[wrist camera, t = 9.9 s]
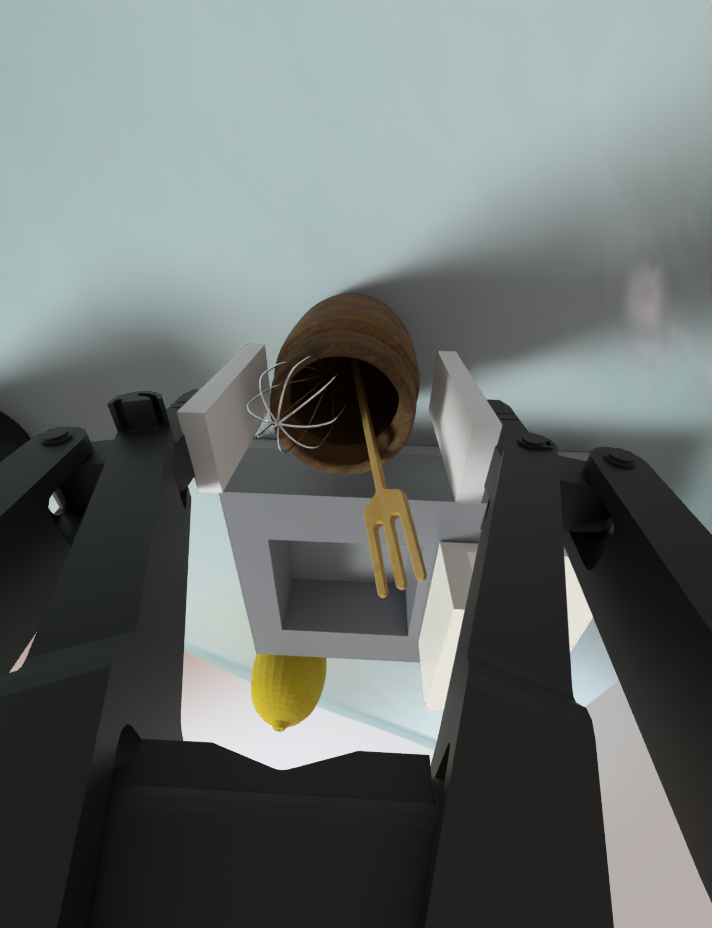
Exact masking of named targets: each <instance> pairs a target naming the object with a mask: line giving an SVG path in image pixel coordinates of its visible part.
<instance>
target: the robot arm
mask: <svg viewBox="0 0 712 928" xmlns="http://www.w3.org/2000/svg"><path fill="white" fill-rule="evenodd" d="M266 370H268V369H267V360H266V351H265V345H263V344H246V345H245V346H244V347H243V348H242V349H241V350H240V351H239V352H238V353H237V354H236V355H235V356H234V357H233V358H232V359H231V360H230V361H229V362H228V363H227V364H226V365H225V366H224V367H222V368H221V369H220V370H219V371H218V372H217V373H216V374H215V375H214V376H213V377H212V378H211V379H210V380H209V381H208V382H207V383H206V384H205V385H204V386H203V387H202V388H201V389H200V390H195V389H194V390H192V391H190V392H188V393H186V394H183V395H182V396H181V397H180V398H179V399H177V400H176V401H175V403H173V404H172V405H171V406H170V408H168V409H167V410H166V409H165V405H164V402H163V398H162V395H161V394H159V393H156V392H150V391H144V392H133V393H128V394H124V395H121V396H118V397H116V398H114V399H112V400H111V401H110V402H109V403H108V407H109V409H110V412H111V415H112V417H113V420H114V423H115V425H116V428H117V430H118V433H117V435H116V437H115V439H114V440H105V441H97V442H90V440H89V437H88V435H87V433H86V431H85V430H84V429H82V428H79V427H65V428H63V427H58V428H55V429H54V428H53V429H49V430H47V431H46V432H44V433H41V434H38V435H37V436H35V437H33V438H32V439H30V440H29V441H27V442H26V443H25V444H24V445H22V446H21V447H20V448H18V449H17V450H16V451H14V452H13V453H12V454H11V455H9V456H8V457H7V458H5V459H4V460H3V461H1V462H0V928H614V926H613V914H612V905H611V894H610V884H609V874H608V864H607V853H606V843H605V833H604V823H603V814H602V802H601V792H600V782H599V772H598V762H597V752H596V741H595V735H594V730H593V724H592V719H591V717H590V715H589V713H588V711H587V709H586V708H585V707H583V706H581V705H579V704H578V703H576V701H575V699H574V697H573V691H572V679H571V662H570V645H569V628H568V611H567V594H566V577H565V560H564V548H565V550H566V552H567V555H568V557H569V560H570V562H571V565H572V567H573V569H574V572H575V574H576V577H577V579H578V582H579V584H580V586H581V589H582V591H583V594H584V596H585V599H586V601H587V603H588V606H589V608H590V611H591V613H592V616H593V618H594V620H595V623H596V625H597V628H598V630H599V633H600V635H601V637H602V640H603V642H604V645H605V647H606V650H607V652H608V654H609V657H610V659H611V662H612V664H613V667H614V669H615V671H616V674H617V676H618V679H619V681H620V683H621V686H622V688H623V691H624V693H625V696H626V698H627V700H628V703H629V705H630V708H631V710H632V713H633V715H634V717H635V720H636V722H637V725H638V727H639V730H640V732H641V734H642V737H643V739H644V742H645V744H646V746H647V749H648V751H649V754H650V756H651V759H652V761H653V763H654V766H655V768H656V771H657V773H658V776H659V778H660V781H661V783H662V785H663V788H664V790H665V793H666V795H667V798H668V800H669V802H670V805H671V807H672V810H673V812H674V815H675V817H676V819H677V822H678V824H679V827H680V829H681V832H682V834H683V836H684V839H685V841H686V844H687V846H688V849H689V851H690V853H691V856H692V858H693V861H694V863H695V866H696V868H697V870H698V873H699V875H700V878H701V880H702V882H703V884H704V886H705V889H706V891H707V893H708V895H709V897H710V900H711V902H712V535H711V534H710V532H709V531H708V530H707V529H706V528H705V527H704V526H703V525H702V524H701V522H700V521H699V520H698V519H697V518H696V517H695V516H694V515H693V514H692V512H691V511H690V510H689V509H688V508H687V507H686V506H685V505H684V504H683V502H682V501H681V500H680V499H679V498H678V497H677V496H676V495H675V494H674V492H673V491H672V490H671V489H670V488H669V487H668V486H667V485H666V484H665V482H664V481H663V480H662V479H661V478H660V477H659V476H658V475H657V474H656V472H655V471H654V470H653V469H652V468H651V467H650V466H649V465H648V464H647V463H646V462H645V461H644V460H643V459H641V458H640V457H638V456H636V455H634V454H632V453H631V452H629V451H626V450H625V451H624V450H623V449H620V448H616V449H615V448H610V447H599V448H596V449H593V450H592V451H591V453H590V455H589V457H588V459H587V461H584V460H579V459H574V458H569V457H565V456H561V455H558V448H557V446H556V444H555V443H553V442H552V441H551V440H550V439H547V438H545V437H543V436H541V435H537V434H534V433H529V432H528V431H527V429H526V428H525V427H524V425H523V424H522V423H521V421H519V419H518V417H517V416H516V415H515V413H514V412H513V410H512V409H511V408H510V406H508V405H506V404H505V403H503V402H502V401H500V400H486V398H485V397H484V395H483V393H482V392H481V390H480V389H479V387H478V385H477V384H476V382H475V381H474V379H473V378H472V376H471V374H470V373H469V371H468V370H467V368H466V367H465V365H464V363H463V362H462V360H461V359H460V357H459V355H458V354H457V352H456V351H438V352H437V358H436V365H435V372H434V379H433V385H432V392H431V399H430V406H429V413H430V417H431V420H432V424H433V427H434V430H435V434H436V437H437V441H438V444H439V447H440V451H441V454H442V458H443V461H444V465H445V468H446V471H447V475H448V478H449V482H450V485H451V489H452V492H453V495H454V499H455V502H456V503H463V504H481V501H482V497H483V494H484V490H486V493H487V495H488V497H489V500H488V503H487V507H486V510H485V514H484V517H483V521H482V524H481V527H480V529H481V534H480V539H479V544H478V549H477V553H476V558H475V563H474V568H473V573H472V577H471V582H470V587H469V592H468V597H467V601H466V606H465V611H464V616H463V620H462V625H461V630H460V635H459V640H458V644H457V649H456V654H455V659H454V664H453V668H452V673H451V678H450V683H449V688H448V692H447V697H446V702H445V707H444V712H443V716H442V721H441V726H440V731H439V735H438V739H437V744H436V747H435V751H434V755H433V759H432V763H431V767H430V758H429V755H418V754H401V753H382V752H364V751H357V752H353V753H349V754H345V755H342V756H338V757H334V758H330V759H326V760H323V761H319V762H315V763H311V764H308V765H304V766H300V767H296V768H292V769H289V770H277V769H274V768H271V767H269V766H266V765H264V764H262V763H259V762H257V761H255V760H252V759H250V758H247V757H245V756H243V755H240V754H238V753H236V752H233V751H231V750H228V749H226V748H224V747H221V746H219V745H217V744H214V743H209V742H190V741H183V737H182V731H181V697H182V676H183V654H184V635H185V615H186V594H187V574H188V553H189V533H190V512H191V495H190V492H189V488H188V485H189V483H190V482H191V481H192V479H193V478H195V481H196V485H197V489H198V492H213V493H223V491H224V489H225V487H226V486H227V484H228V482H229V480H230V478H231V477H232V475H233V473H234V471H235V469H236V468H237V466H238V464H239V462H240V460H241V459H242V457H243V455H244V453H245V451H246V450H247V448H248V446H249V444H250V442H251V441H252V439H253V437H254V435H255V433H256V432H257V430H258V428H259V426H260V424H261V423H262V420H259V419H257V418H255V417H254V416H252V415H251V414H250V413H249V412H248V411H247V404H248V402H250V401H251V400H252V399H253V398H255V397H256V396H257V395H259V394H260V390H259V379H260V376H261V375H262V374H263V373H264V372H265V371H266ZM269 388H270V387H269V378H268V372H267V373H266V374H264V375H263V377H262V379H261V390H262V392H263V391H265V390H267V389H269ZM262 395H263V398H264V400H265V402H266V405H267V407H268V408H270V390H268V391H267V392H265V393H263V394H262ZM249 410H250V412H251V413H253V414H254V415H256V416H258V417H260V418H262V419H264V417H265V415H266V414H267V412H268V411H267V409H266V407H265V405H264V403H263V401H262V398H261V395H260V396H259V397H258V398H256V399H255V400H253V401H252V402H251V403H250V404H249ZM51 495H53V496H54V498H55V500H56V502H57V504H58V505H59V507H60V508H59V509H58V510H57V511H56V512H55V513H54V514H53V513H52V512H51V511H50V510H49V508H48V505H49V499H50V497H51ZM36 632H37V633H36ZM35 634H36V635H35ZM34 635H35V638H34V641H33V643H32V645H31V648H30V650H29V653H28V655H27V658H26V660H25V662H24V664H23V665H22V667H21V668H20V669H19V670H17V671H15V672H11V673H9V672H10V670H11V669H12V667H13V666H14V665H15V663H16V662H17V660H18V659H19V657H20V655H21V654H22V653H23V651H24V649H25V648H26V647H27V645H28V644H29V642H30V641H31V639H32V638H33V637H34Z"/></svg>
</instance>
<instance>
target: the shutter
mask: <svg viewBox="0 0 712 928" xmlns="http://www.w3.org/2000/svg"><path fill="white" fill-rule="evenodd" d="M477 549H478V543H457V542H440V543H439V548H438V553H437V558H436V562H435V567H434V572H433V576H432V581H431V586H430V591H429V595H428V600H427V605H426V609H425V614H424V619H423V623H422V628H421V633H420V638H419V642H418V644H419V653H420V663H421V672H422V681H423V691H424V700H425V709H428V710H444V707H445V702H446V697H447V692H448V688H449V683H450V678H451V673H452V668H453V664H454V659H455V654H456V649H457V644H458V640H459V635H460V630H461V625H462V620H463V616H464V611H465V606H466V601H467V597H468V592H469V587H470V582H471V577H472V573H473V568H474V563H475V558H476V553H477ZM564 560H565V577H566V594H567V611H568V628H569V645H570V652H571V650H572V649H573V647H574V646H575V644H576V643H577V641H578V640H579V638H580V636H581V635H582V633H583V632H584V630H585V629H586V627H587V625H588V624H589V622H590V621H591V619H592V618H593V616H592V613H591V611H590V608H589V606H588V603H587V601H586V599H585V596H584V594H583V591H582V589H581V586H580V584H579V582H578V579H577V577H576V574H575V572H574V569H573V567H572V565H571V562H570V560H569V557H568V555H567V552H566V550H565V548H564Z"/></svg>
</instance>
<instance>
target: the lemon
mask: <svg viewBox="0 0 712 928" xmlns="http://www.w3.org/2000/svg"><path fill="white" fill-rule="evenodd" d="M325 677H326V657H307V656H288V655H269V654H257V655H256V658H255V661H254V665H253V670H252V680H251V695H252V701H253V704H254V706H255V708H256V711H257V713H258V714H259V715H260V716H261V717H262V719H263V720H264V721H265V722H267V723H269V724H270V725H272V726H273V728H274V730H275V731H279V732H281V731H284V730H285V729H286V728H287V727H290V726H294V725H296V724H298V723H300V722H301V721H302V720H304V719H305V718H306V717H308V716H309V715H310V714H311V712H312V711H313V710H314V708H315V706H316V704H317V702H318V701H319V698H320V696H321V693H322V690H323V686H324V682H325Z"/></svg>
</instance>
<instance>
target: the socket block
mask: <svg viewBox="0 0 712 928" xmlns="http://www.w3.org/2000/svg"><path fill="white" fill-rule="evenodd" d="M279 444H280V448H281V450H282V451H284V452H286V451H288V450H287V449H286V447H285V446H284V445H283V443H282V442H281V441H280V440H279ZM558 455H561V456H565V457H569V458H574V459H579V460H584V461H587V459H588V457H589V455H590V453H587V452H562V451H558ZM382 469H383V473H384V478H385V482H386V486H387V489H401V490H402V491H403V492H404V493H405V494H406V495H407V499H408V503H409V506H410V510H411V514H412V518H413V522H414V526H415V530H416V534H417V537H418V541H419V545H420V549H421V553H422V557H423V561H424V565H425V569H426V573H427V578H426V580H425V581H423V582H420V581H418V580H417V579H416V577H415V573H414V569H413V565H412V561H411V557H410V554H409V550H408V546H407V542H406V538H405V534H404V530H403V527H402V523H401V519H400V517H398V518H397V519H396V520H395V527H396V532H397V537H398V541H399V546H400V551H401V556H402V560H403V565H404V570H405V575H406V579H407V587H406V589H404V590H400V589H398V588H397V587H396V582H395V578H394V573H393V568H392V564H391V559H390V555H389V550H388V545H387V541H386V536H385V531H384V527H383V526H381V527H380V528H379V530H378V532H379V538H380V544H381V550H382V556H383V562H384V568H385V574H386V580H387V586H388V595H387V597H385V598H381V597H380V596H378V593H377V587H376V581H375V576H374V570H373V564H372V559H371V553H370V548H369V542H368V536H367V531H366V525H365V519H364V513H363V512H364V509H365V507H366V506H367V504H368V503H369V502H370V500H371V499H372V498H373V497H374V495H375V492H376V488H375V483H374V478H373V473H372V470H370V471H367V472H364V473H359V474H350V475H340V474H331V473H327V472H323V471H320V470H317V469H314V468H312V467H310V466H308V465H306V464H304V463H303V462H301V461H300V460H298V459H297V458H296V457H295V456H293V455H292V454H291V453H290V452H288V453H282V452H281V451H280V450H279V448H278V444H277V440H269V439H252V441H251V442H250V444H249V446H248V448H247V450H246V451H245V453H244V455H243V457H242V459H241V460H240V462H239V464H238V466H237V468H236V469H235V471H234V473H233V475H232V477H231V478H230V480H229V482H228V484H227V486H226V487H225V489H224V491H223V493H219V495H220V500H221V504H222V508H223V513H224V517H225V521H226V525H227V530H228V534H229V538H230V543H231V547H232V551H233V555H234V560H235V564H236V568H237V572H238V577H239V581H240V585H241V590H242V594H243V598H244V602H245V607H246V611H247V615H248V620H249V624H250V628H251V632H252V637H253V641H254V645H255V650H256V654H269V655H288V656H307V657H326V658H345V659H364V660H383V661H402V662H420V653H419V644H418V642H419V638H420V633H421V628H422V623H423V619H424V614H425V609H426V605H427V600H428V595H429V591H430V586H431V581H432V576H433V572H434V567H435V562H436V558H437V553H438V548H439V543H440V542H457V543H478V544H479V539H480V534H481V529H480V527H481V524H482V521H483V517H484V514H485V510H486V507H487V503H488V500H489V497H488V495H487V493H486V490H484V494H483V497H482V501H481V504H463V503H456V502H455V499H454V495H453V492H452V489H451V485H450V482H449V478H448V475H447V471H446V468H445V465H444V461H443V458H442V454H441V451H440V447H439V446H416V445H404V446H403V447H402V449H401V450H400V451H399V452H398V453H397V454H396V455H395V456H394V457H393V458H392V459H390V460H389V461H388V462H386V463H385V464H383V465H382Z"/></svg>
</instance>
